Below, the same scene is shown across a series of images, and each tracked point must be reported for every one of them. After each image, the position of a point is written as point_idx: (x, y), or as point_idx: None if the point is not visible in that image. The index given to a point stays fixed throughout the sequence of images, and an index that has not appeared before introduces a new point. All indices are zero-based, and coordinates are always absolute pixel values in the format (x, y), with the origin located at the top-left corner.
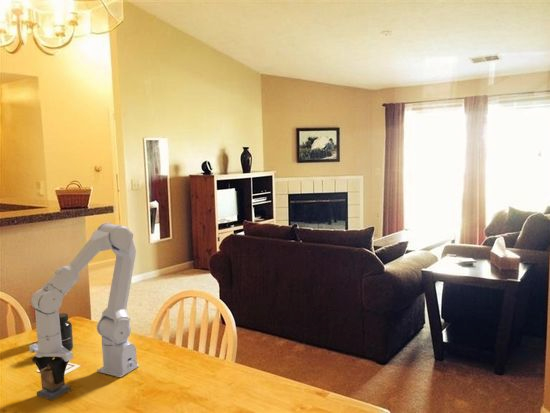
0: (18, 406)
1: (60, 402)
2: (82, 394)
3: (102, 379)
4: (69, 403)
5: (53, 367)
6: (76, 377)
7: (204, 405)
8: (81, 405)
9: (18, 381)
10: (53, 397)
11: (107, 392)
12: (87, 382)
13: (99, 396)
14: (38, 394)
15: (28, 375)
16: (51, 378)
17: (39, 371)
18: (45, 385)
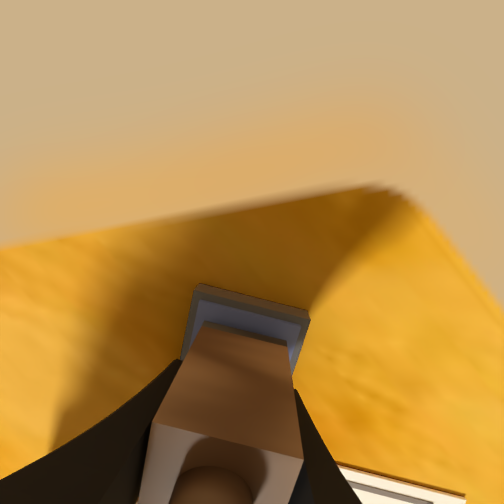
0: (335, 208)
1: (148, 274)
2: (101, 348)
3: None
4: (100, 273)
5: (23, 488)
6: None
7: None
8: (34, 266)
9: (498, 414)
10: (195, 295)
11: (10, 374)
12: None
13: (17, 342)
14: (296, 312)
15: (480, 465)
16: (175, 378)
17: (444, 497)
18: (254, 348)
